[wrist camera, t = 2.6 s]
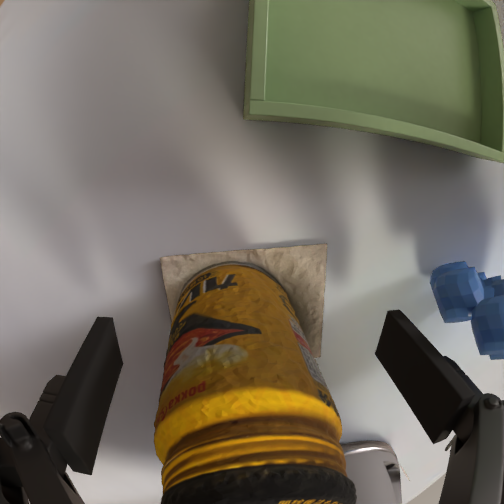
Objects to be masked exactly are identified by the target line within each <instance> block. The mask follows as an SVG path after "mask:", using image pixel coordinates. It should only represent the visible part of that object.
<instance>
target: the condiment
mask: <svg viewBox="0 0 504 504" xmlns="http://www.w3.org/2000/svg"><path fill="white" fill-rule="evenodd" d="M326 260H327V244H317V245H304V246H294V247H282V248H270V249H252V250H236V251H224V252H211V253H198V254H189V255H175V256H166V257H161V258H160V262H161V268H162V274H163V280H164V285H165V290H166V295H167V300H168V306H169V311H170V316H171V321H172V324H171V332H170V337H169V343H168V349H167V353H166V360H165V363H164V373H163V381H162V387H161V393H160V398H159V406H158V411H157V413H156V418H155V422H154V427H155V433H154V444H155V450H156V455H157V456H158V458H159V460H160V461H161V462H162V464H163V465H164V466H163V468H162V471H161V475H162V485H163V496H162V501H161V504H356V500H357V495H356V488H355V484H354V483H353V481H352V480H350V479H349V478H348V476H347V473H346V471H345V470H346V460H345V457H344V452H343V449H342V447H341V445H340V443H339V441H340V438H341V436H342V425H341V419H340V416H339V413H338V411H337V409H336V406H335V404H334V401H333V399H332V397H331V395H330V392H329V389H328V388H327V385H326V383H325V381H324V379H323V377H322V374H321V372H320V370H319V368H318V365H317V363H316V360H315V359H314V358H317V357H320V354H321V337H322V323H323V307H324V296H323V295H324V291H325V279H326Z"/></svg>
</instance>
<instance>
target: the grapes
mask: <svg viewBox="0 0 504 504" xmlns="http://www.w3.org/2000/svg"><path fill="white" fill-rule="evenodd" d="M430 284H431V287H432V290H433V293H434V296H435V299H436V301H437V305H438V308H439V311H440V313H441V316H442V318H443V320H444V322H445V323H455V322H463V321H468V320H471V325H472V330H473V334H474V337H475V341H476V344H477V347H478V350H479V353H480V355H489V356H490V359H491V360H494V359H504V279H502V280H501V275H500V276H496V277H492V278H488V279H487V278H486V276H485V274H484V272H480V273H477V272H476V270H475V267H470V268H468V266H467V264H466V262H465V261H463V262H455V263H449V264H445V265H442V266H439V267H438V268H436V269H435V270H433V272H432V275H431V280H430Z"/></svg>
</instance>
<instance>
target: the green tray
mask: <svg viewBox="0 0 504 504" xmlns="http://www.w3.org/2000/svg"><path fill="white" fill-rule="evenodd" d="M243 119H244V120H261V121H277V122H289V123H300V124H310V125H319V126H328V127H335V128H343V129H350V130H356V131H363V132H369V133H375V134H380V135H386V136H391V137H396V138H401V139H406V140H411V141H415V142H420V143H424V144H428V145H433V146H437V147H441V148H445V149H448V150H452V151H456V152H460V153H463V154H467V155H470V156H473V157H477V158H480V159H486V160H491V161H496V162H501V163H504V48H503V41H502V35H501V29H500V24H499V19H498V14H497V10H496V5H495V3H493V2H492V1H491V0H249V12H248V30H247V49H246V70H245V91H244V114H243Z"/></svg>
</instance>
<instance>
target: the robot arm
mask: <svg viewBox="0 0 504 504" xmlns="http://www.w3.org/2000/svg"><path fill="white" fill-rule="evenodd" d="M375 355H376V356H377V358H378V359H379V361H380V362H381V364H382V365H383V367H384V368H385V370H386V371H387V373H388V374H389V376H390V377H391V379H392V380H393V382H394V383H395V385H396V386H397V388H398V389H399V391H400V392H401V394H402V396H403V397H404V399H405V400H406V402H407V403H408V405H409V406H410V408H411V410H412V411H413V413H414V414H415V416H416V417H417V419H418V420H419V422H420V424H421V425H422V427H423V428H424V430H425V432H426V433H427V435H428V436H429V438H430V440H431V441H432V443H433V444H435V443H437V442H440V441H442V440H444V439H446V438H447V437H448V436H449V434H450V433H451V431H452V430H453V431H454V432H455V434H456V435H455V436H454V437H453V439H452V440H451V441H450V443H449V444H448V445H447V447H446V449H445V451H447V450H448V449H449V447H450V446H451V445H452V446H451V450H450V457H449V463H448V467H447V472H446V477H445V481H444V485H443V489H442V493H441V497H440V501H439V504H504V400H500V398H498V397H497V396H496V395H493V394H489V393H486V394H483V393H482V392H481V391H480V390H479V389H478V388H477V386H476V385H475V384H474V383H473V382H472V381H471V379H470V378H469V377H468V376H467V375H465V373H464V372H463V370H461V368H460V367H459V366H458V365H457V364H456V363H455V361H453V360H451V359H450V358H448V357H447V356H442V355H441V354H440V353H439V351H438V350H437V349H436V348H435V347H434V346H433V345H432V344H431V343H430V342H429V340H428V339H427V338H426V337H425V336H424V335H423V334H422V333H421V332H420V331H419V330H418V329H417V327H416V326H415V325H414V324H413V323H412V322H411V321H410V320H409V319H408V318H407V317H406V316H405V315H404V314H403V313H402V312H401V311H400V310H393V311H387V315H386V319H385V322H384V326H383V329H382V333H381V336H380V339H379V343H378V346H377V349H376V352H375ZM122 366H123V361H122V357H121V353H120V349H119V344H118V340H117V336H116V331H115V326H114V322H113V318H111V317H97V319H96V321H95V322H94V324H93V326H92V328H91V330H90V331H89V333H88V335H87V337H86V339H85V341H84V342H83V344H82V346H81V348H80V350H79V352H78V354H77V356H76V358H75V360H74V361H73V363H72V365H71V367H70V369H69V371H68V373H67V375H66V376H62V375H55V376H54V377H53V378H52V379H51V380H50V381H49V382H48V383H47V385H46V387H45V389H44V391H43V393H42V395H41V397H40V400H39V401H38V403H37V405H36V407H35V409H34V411H33V413H32V415H31V417H30V419H29V420H28V418H27V417H26V416H25V415H24V414H22V413H19V412H12V413H8V414H6V415H5V416H3V417H2V418H1V419H0V436H1V437H2V438H0V504H29V501H30V504H85V503H84V502H83V500H82V499H81V497H80V495H79V494H78V492H77V490H76V488H75V487H74V485H73V483H72V481H71V480H70V478H69V476H68V474H67V473H66V472H65V471H66V467H67V464H68V465H69V466H70V468H71V469H72V470H73V471H74V472H79V473H83V474H88V475H92V472H93V467H94V463H95V459H96V455H97V451H98V447H99V443H100V440H101V436H102V432H103V428H104V425H105V421H106V418H107V414H108V411H109V408H110V404H111V401H112V397H113V394H114V391H115V388H116V385H117V381H118V378H119V375H120V372H121V369H122ZM341 447H342V449H343V452H344V457H345V460H346V470H345V471H346V473H347V476H348V478H349V479H350V480H352V481H353V483H354V484H355V488H356V495H357V500H356V504H402V496H401V481H400V468H399V463H398V460H397V457H396V455H395V453H394V451H393V449H392V448H391V446H390V445H388V444H387V443H384V442H380V441H359V442H352V443H346V444H342V445H341ZM400 466H401V465H400ZM401 468H402V466H401ZM402 470H403V472H404V474H405V475H406V477H407V478H408V476H407V474H406V472H405V471H404V469H403V468H402ZM408 479H409V478H408ZM409 481H410V480H409ZM28 499H29V501H28Z"/></svg>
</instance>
